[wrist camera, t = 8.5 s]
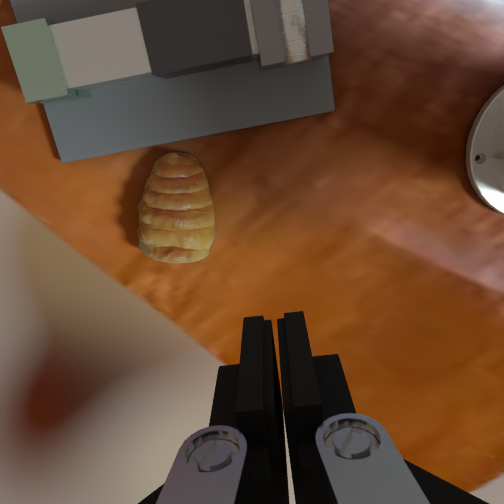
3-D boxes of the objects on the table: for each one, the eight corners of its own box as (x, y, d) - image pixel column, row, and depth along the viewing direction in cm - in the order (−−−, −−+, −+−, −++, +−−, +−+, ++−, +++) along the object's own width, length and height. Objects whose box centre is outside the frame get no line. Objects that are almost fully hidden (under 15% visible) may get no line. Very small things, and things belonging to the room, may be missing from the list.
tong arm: (240, -16, 29) (239, -23, 28) (252, 60, 31) (253, 57, 29) (13, 31, 30) (1, 26, 28) (36, 103, 31) (26, 102, 30)
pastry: (141, 147, 37) (131, 152, 33) (220, 154, 37) (218, 159, 33) (141, 251, 40) (131, 266, 36) (214, 256, 40) (211, 271, 36)
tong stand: (311, -32, 32) (324, -59, 27) (323, 61, 34) (336, 53, 29) (31, 26, 33) (-8, 11, 27) (58, 113, 35) (26, 114, 30)
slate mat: (309, -88, 31) (311, -94, 30) (332, 110, 36) (335, 110, 35) (8, -24, 32) (1, -28, 31) (66, 161, 37) (62, 163, 36)
